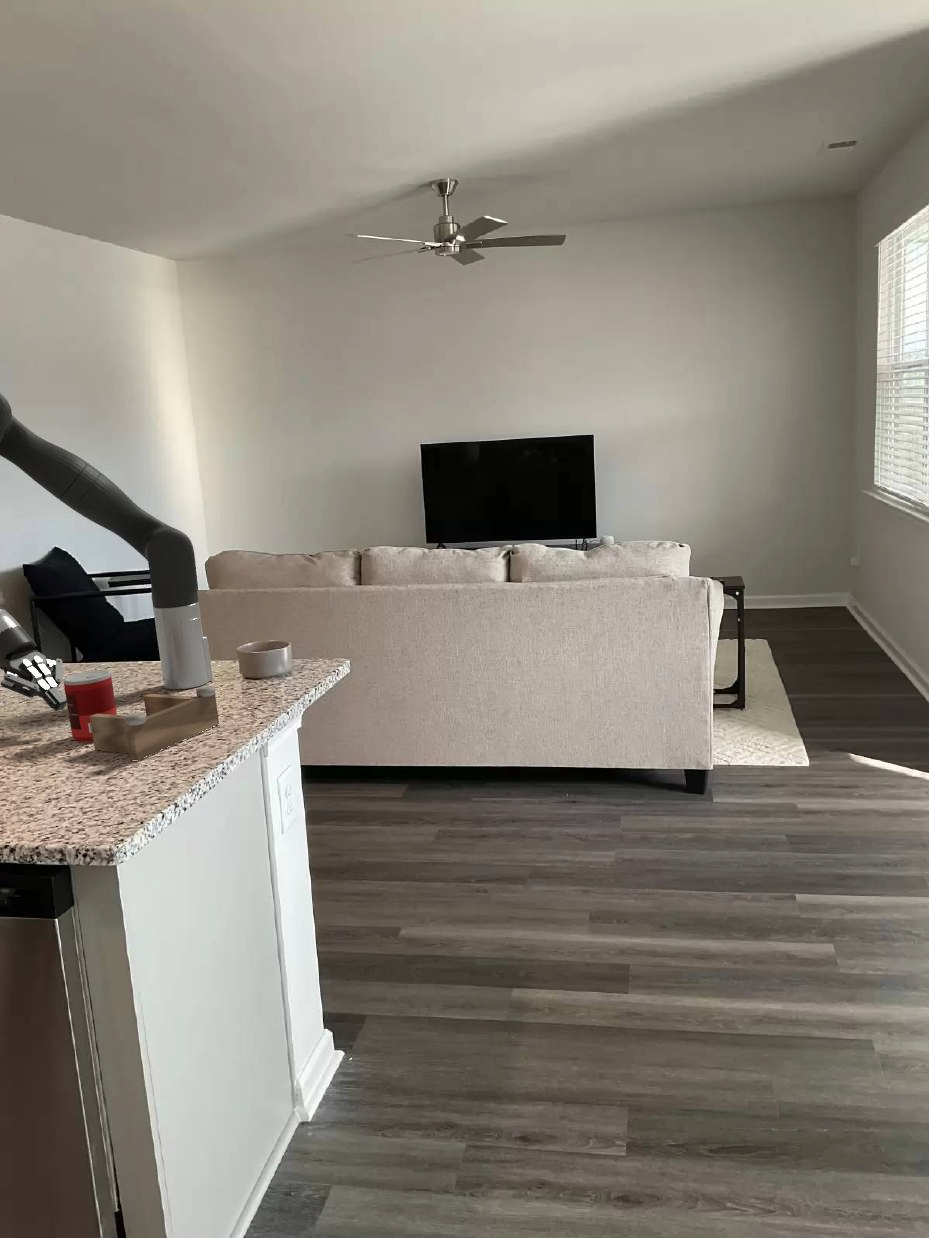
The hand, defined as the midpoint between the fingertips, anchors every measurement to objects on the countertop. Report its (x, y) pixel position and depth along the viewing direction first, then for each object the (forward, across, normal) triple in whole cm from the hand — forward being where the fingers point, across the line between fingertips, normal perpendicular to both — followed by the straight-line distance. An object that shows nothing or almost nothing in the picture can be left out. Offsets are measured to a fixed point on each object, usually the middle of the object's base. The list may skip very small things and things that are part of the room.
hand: (61, 706), depth 179 cm
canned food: (+9, 0, -2) cm, 9 cm away
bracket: (+18, 0, -11) cm, 21 cm away
